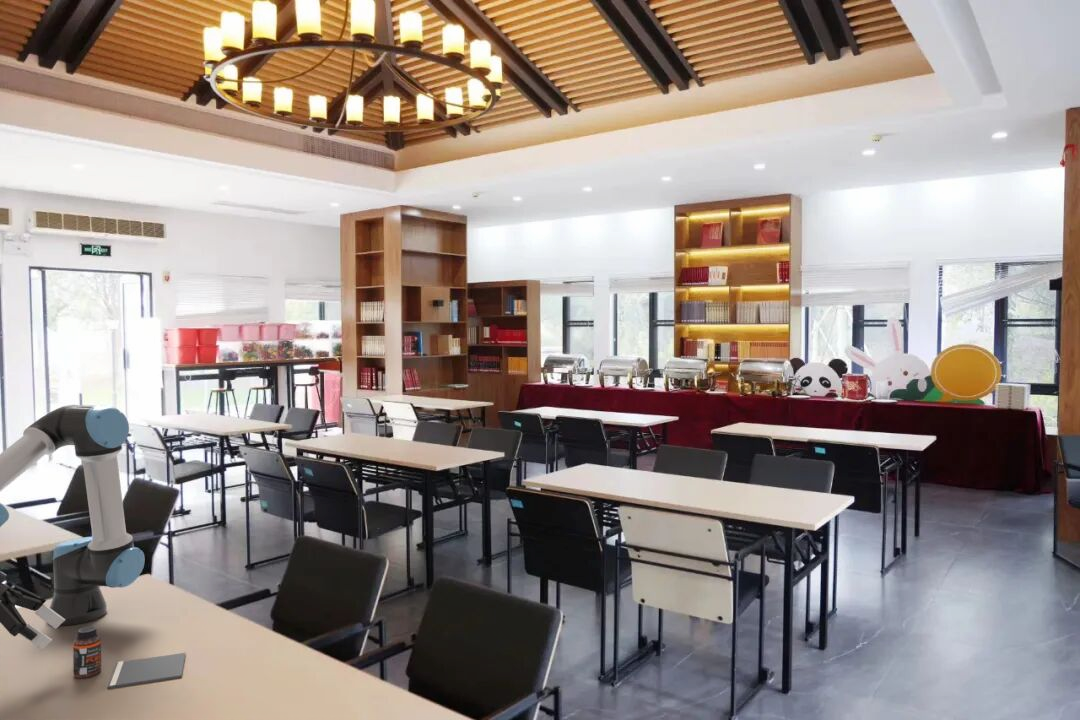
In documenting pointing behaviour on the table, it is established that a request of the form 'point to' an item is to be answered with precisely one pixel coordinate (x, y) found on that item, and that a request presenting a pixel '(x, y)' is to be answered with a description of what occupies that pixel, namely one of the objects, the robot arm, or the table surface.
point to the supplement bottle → (87, 653)
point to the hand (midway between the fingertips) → (54, 634)
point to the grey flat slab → (147, 670)
